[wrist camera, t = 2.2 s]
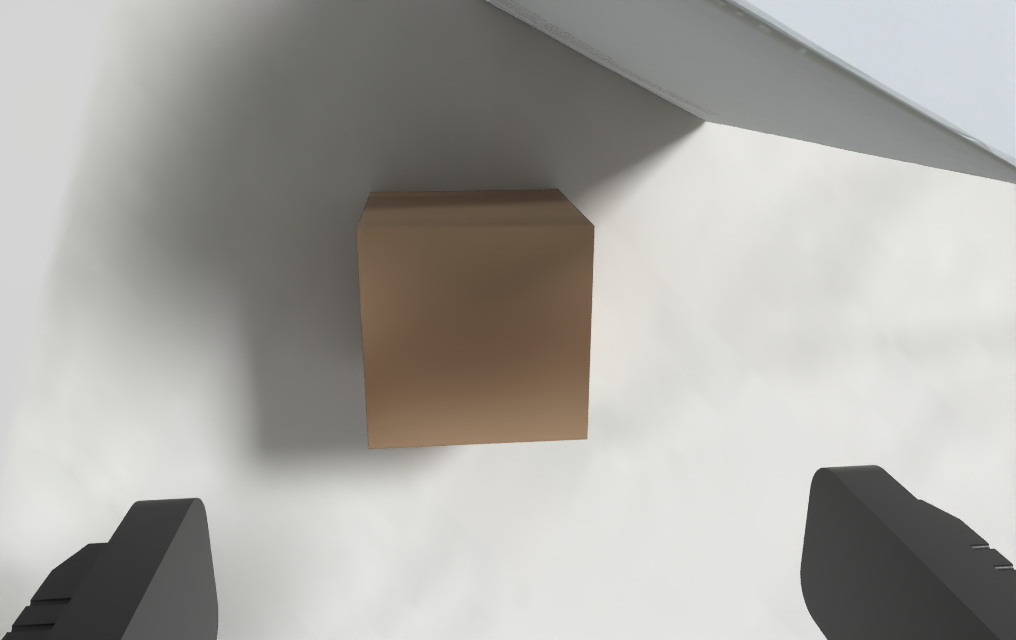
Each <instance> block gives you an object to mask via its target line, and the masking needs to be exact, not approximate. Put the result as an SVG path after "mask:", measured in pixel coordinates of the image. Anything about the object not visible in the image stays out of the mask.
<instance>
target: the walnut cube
mask: <svg viewBox="0 0 1016 640" xmlns="http://www.w3.org/2000/svg"><path fill="white" fill-rule="evenodd" d="M356 239H357V256H358V273H359V291H360V308H361V325H362V342H363V360H364V377H365V394H366V412H367V429H368V446H369V449H378V448H400V447H423V446H445V445H468V444H490V443H513V442H535V441H558V440H580V439H587V431H588V402H589V372H590V343H591V313H592V284H593V254H594V225H593V224H592V223H591V222H590V221H589V220H588V219H587V218H586V217H585V216H584V215H583V214H582V213H581V212H580V211H579V210H578V209H577V208H576V207H575V206H574V205H573V204H572V203H571V202H570V201H569V200H568V199H567V198H566V197H565V196H564V195H563V194H562V193H561V192H560V191H559V190H558V189H549V190H484V191H418V192H370V195H369V197H368V200H367V203H366V205H365V208H364V211H363V213H362V216H361V219H360V221H359V224H358V227H357V229H356Z"/></svg>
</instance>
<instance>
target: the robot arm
mask: <svg viewBox="0 0 1016 640" xmlns="http://www.w3.org/2000/svg"><path fill="white" fill-rule="evenodd" d="M800 575H801V586H802V592H803V597H804V600H805V603H806V606H807V609H808V611H809V613H810V615H811V616H812V618H813V620H814V621H815V623H816V624H817V625H818V627H819V628H820V630H821V631H822V632H823V634H824V635H825V637H826V638H827V640H1016V570H1014V569H1013V564H1012V563H1011V562H1010V561H1008V560H1007V559H1006V558H1005V557H1004V556H1003V555H1001V554H1000V553H999V552H998V551H997V550H995V549H990V548H989V544H988V543H987V542H986V541H985V540H984V539H983V538H981V537H980V536H979V535H978V534H977V533H975V532H974V531H973V530H972V529H971V528H970V527H968V526H967V525H966V524H965V523H964V522H963V521H961V520H960V519H958V518H956V517H954V516H952V515H950V514H948V513H946V512H944V511H943V510H941V509H939V508H937V507H935V506H933V505H931V504H929V503H927V502H925V501H923V500H918V499H917V498H915V497H914V496H913V495H912V494H911V493H910V492H909V491H908V490H906V489H905V488H904V487H903V486H902V485H901V484H900V483H898V482H897V481H896V480H895V479H894V478H893V477H892V476H891V475H889V474H888V473H887V472H886V471H885V470H884V469H882V468H881V467H879V466H876V465H867V466H848V467H828V468H820V469H819V470H817V472H816V473H815V474H814V476H813V479H812V482H811V488H810V496H809V504H808V512H807V520H806V528H805V536H804V544H803V552H802V561H801V571H800ZM217 631H218V602H217V594H216V586H215V578H214V570H213V562H212V554H211V547H210V539H209V531H208V523H207V516H206V511H205V507H204V504H203V502H202V500H201V499H200V498H186V499H166V500H146V501H137V502H135V503H134V504H133V505H132V507H131V508H130V510H129V511H128V513H127V514H126V516H125V517H124V519H123V520H122V522H121V523H120V525H119V527H118V528H117V530H116V531H115V533H114V534H113V536H112V537H111V539H110V540H109V542H108V543H94V544H88V545H86V546H85V547H84V548H82V549H81V550H79V551H78V552H77V553H75V554H74V555H73V556H71V557H70V558H68V559H67V560H66V561H64V562H63V563H62V564H60V565H59V566H57V567H56V568H55V569H53V570H52V571H51V573H50V574H49V575H48V577H47V578H46V580H45V581H44V582H43V584H42V585H41V586H40V588H39V589H38V591H37V592H36V593H35V595H34V596H33V597H32V599H31V604H30V606H26V607H25V609H24V610H23V611H22V613H21V614H20V615H19V617H18V618H17V620H16V621H15V622H14V624H13V625H12V631H11V632H7V633H6V635H5V636H4V637H3V639H2V640H217Z"/></svg>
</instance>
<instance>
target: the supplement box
mask: <svg viewBox="0 0 1016 640" xmlns="http://www.w3.org/2000/svg"><path fill="white" fill-rule="evenodd" d="M485 1H487V2H489V3H490V4H492V5H494V6H496V7H498V8H500V9H501V10H503V11H505V12H507V13H509V14H510V15H512V16H514V17H516V18H518V19H520V20H521V21H523V22H525V23H527V24H529V25H531V26H532V27H534V28H536V29H538V30H539V31H541V32H543V33H545V34H547V35H548V36H550V37H552V38H554V39H555V40H557V41H559V42H561V43H563V44H564V45H566V46H568V47H570V48H571V49H573V50H575V51H577V52H578V53H580V54H582V55H584V56H586V57H587V58H589V59H591V60H593V61H595V62H596V63H598V64H600V65H602V66H604V67H606V68H608V69H610V70H612V71H613V72H615V73H617V74H619V75H621V76H623V77H625V78H627V79H629V80H630V81H632V82H634V83H636V84H638V85H640V86H641V87H643V88H645V89H647V90H649V91H650V92H652V93H654V94H656V95H658V96H660V97H661V98H663V99H665V100H667V101H669V102H671V103H673V104H675V105H676V106H678V107H680V108H682V109H684V110H686V111H688V112H690V113H691V114H693V115H695V116H697V117H699V118H701V119H703V120H705V121H708V122H712V123H717V124H723V125H729V126H734V127H739V128H743V129H748V130H753V131H758V132H763V133H767V134H774V135H778V136H783V137H788V138H793V139H798V140H803V141H808V142H813V143H818V144H822V145H826V146H831V147H836V148H840V149H844V150H849V151H854V152H859V153H864V154H869V155H874V156H879V157H884V158H889V159H894V160H899V161H904V162H910V163H916V164H920V165H925V166H929V167H934V168H939V169H945V170H950V171H955V172H960V173H965V174H970V175H975V176H980V177H985V178H991V179H996V180H1000V181H1005V182H1010V183H1014V184H1016V0H485Z"/></svg>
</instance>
